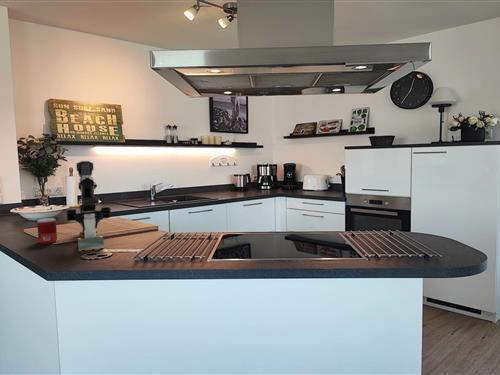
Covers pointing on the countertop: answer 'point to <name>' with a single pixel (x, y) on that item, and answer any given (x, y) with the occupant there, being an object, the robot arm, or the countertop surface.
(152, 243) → the countertop surface
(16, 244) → the countertop surface
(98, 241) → the stand
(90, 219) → the mill
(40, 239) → the canned food
